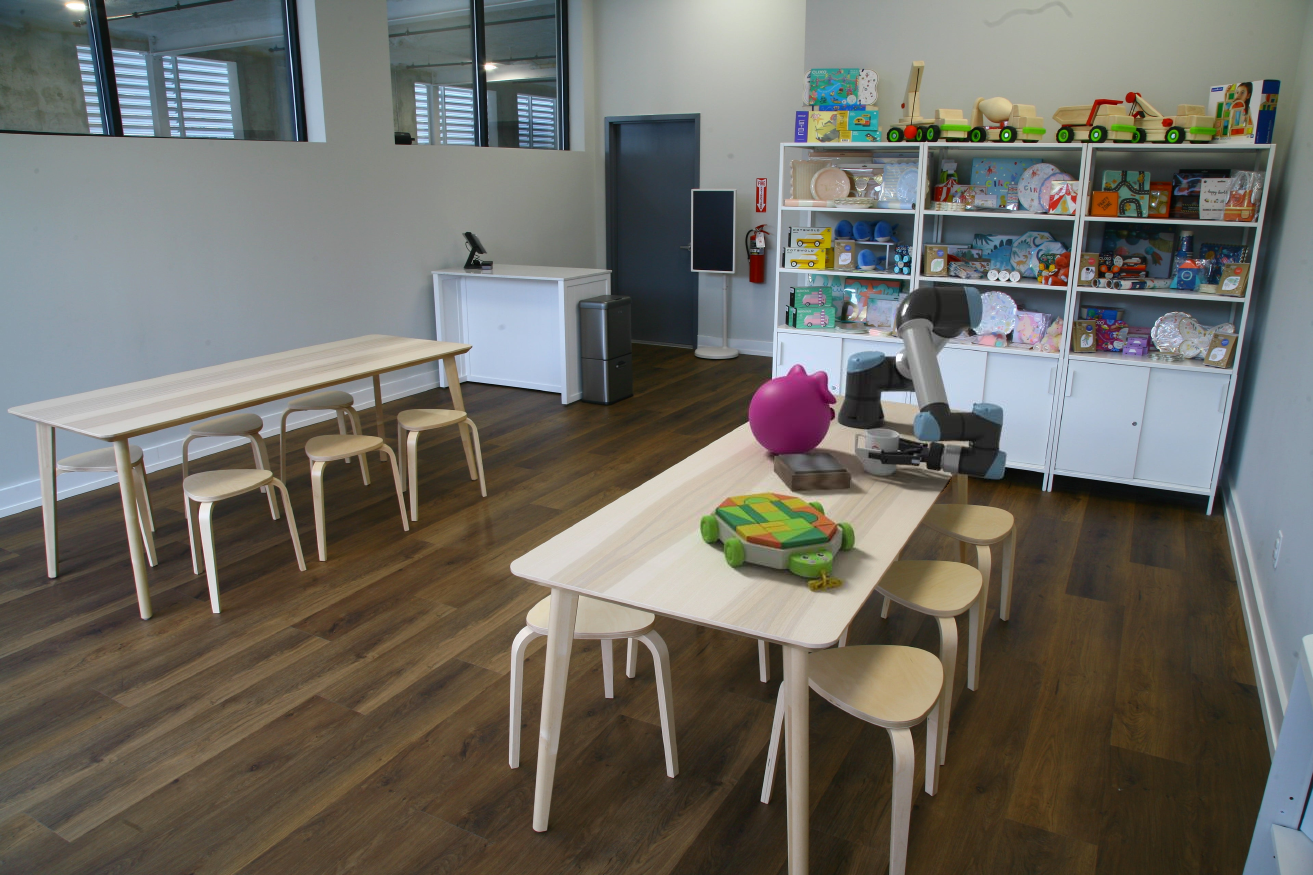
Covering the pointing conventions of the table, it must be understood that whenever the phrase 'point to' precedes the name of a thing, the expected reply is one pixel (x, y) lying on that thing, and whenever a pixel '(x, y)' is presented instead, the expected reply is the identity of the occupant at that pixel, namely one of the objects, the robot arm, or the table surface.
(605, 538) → the table surface
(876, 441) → the mug
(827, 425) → the figurine
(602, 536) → the table surface
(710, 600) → the table surface
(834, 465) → the walnut plinth
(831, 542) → the toy wagon
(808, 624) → the table surface
